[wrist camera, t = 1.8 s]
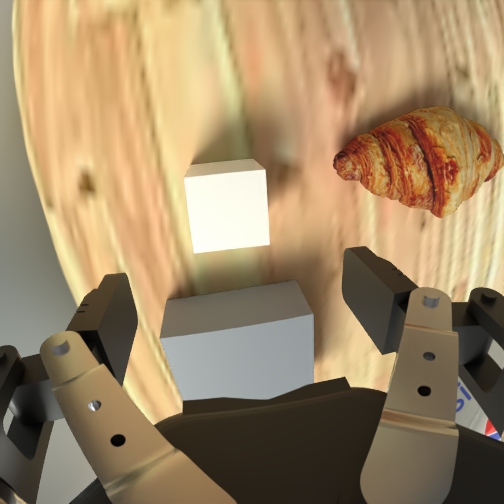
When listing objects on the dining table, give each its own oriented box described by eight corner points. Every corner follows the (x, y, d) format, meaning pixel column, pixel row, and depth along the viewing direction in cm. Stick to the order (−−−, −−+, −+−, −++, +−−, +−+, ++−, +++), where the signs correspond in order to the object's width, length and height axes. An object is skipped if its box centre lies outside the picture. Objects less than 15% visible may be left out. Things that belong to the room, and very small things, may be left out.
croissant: (471, 126, 29) (513, 99, 21) (496, 208, 29) (545, 193, 21) (309, 131, 28) (334, 84, 20) (335, 239, 27) (375, 224, 19)
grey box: (295, 278, 30) (313, 313, 24) (299, 370, 35) (313, 408, 29) (166, 298, 29) (159, 338, 24) (194, 387, 34) (194, 428, 28)
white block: (253, 158, 25) (265, 169, 20) (257, 218, 27) (269, 244, 22) (189, 164, 25) (183, 177, 19) (196, 224, 27) (194, 253, 21)
